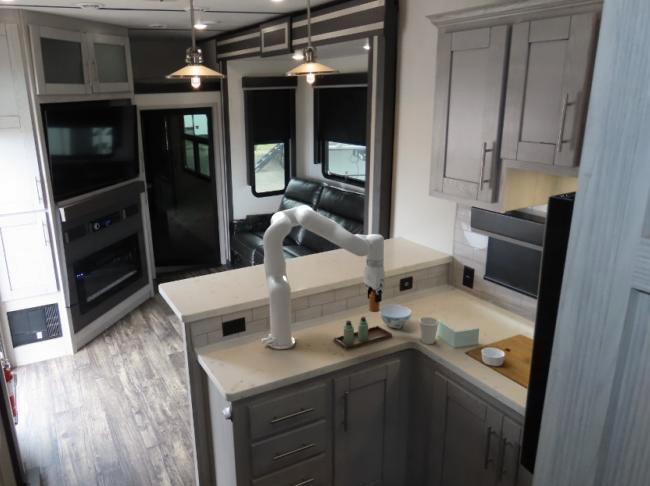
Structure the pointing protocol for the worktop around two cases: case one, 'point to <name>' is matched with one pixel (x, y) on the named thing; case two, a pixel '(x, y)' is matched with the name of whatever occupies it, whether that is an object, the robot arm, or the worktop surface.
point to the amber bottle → (373, 302)
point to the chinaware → (395, 315)
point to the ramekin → (492, 356)
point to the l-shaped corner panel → (458, 336)
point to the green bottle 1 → (348, 333)
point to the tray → (373, 336)
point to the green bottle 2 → (363, 329)
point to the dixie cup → (428, 329)
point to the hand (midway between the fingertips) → (374, 299)
